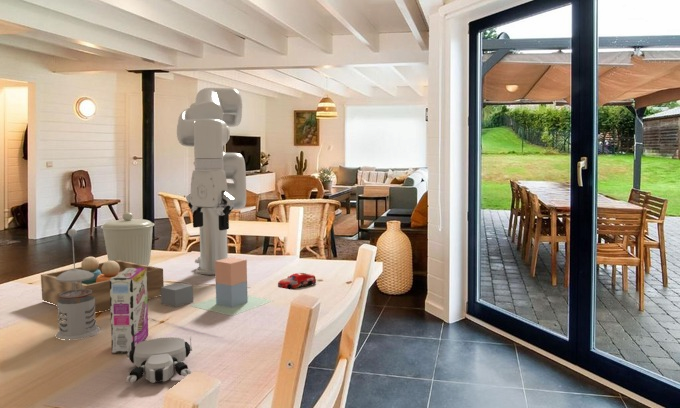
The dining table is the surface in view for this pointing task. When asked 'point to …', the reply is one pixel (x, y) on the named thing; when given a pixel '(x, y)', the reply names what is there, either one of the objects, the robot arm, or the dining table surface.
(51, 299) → the wooden tray
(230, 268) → the brick
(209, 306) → the board
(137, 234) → the canister
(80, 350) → the dining table surface
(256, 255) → the dining table surface
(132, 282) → the candy bar box
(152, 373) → the robot toy
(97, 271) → the wooden peg doll toy
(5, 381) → the dining table surface
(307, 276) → the race car
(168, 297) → the gray cube
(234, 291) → the base brick
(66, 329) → the french press
